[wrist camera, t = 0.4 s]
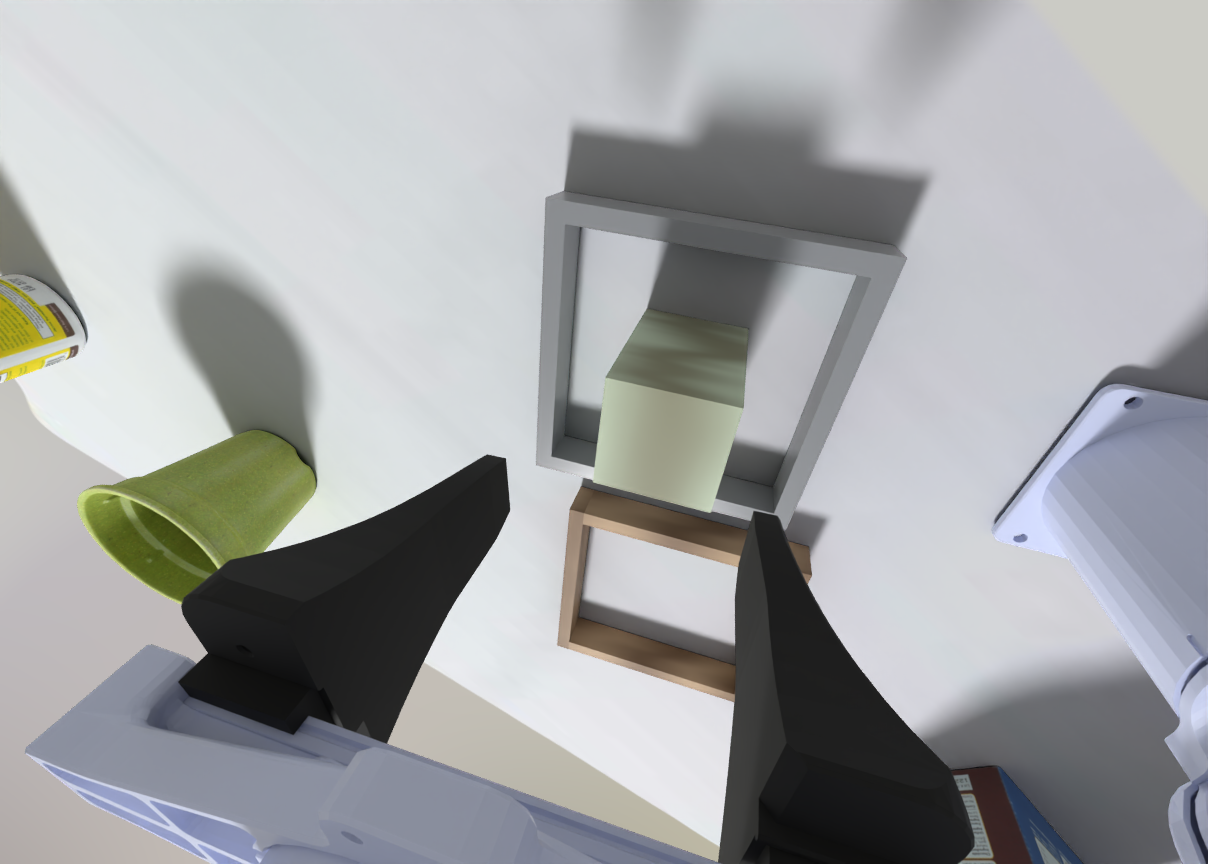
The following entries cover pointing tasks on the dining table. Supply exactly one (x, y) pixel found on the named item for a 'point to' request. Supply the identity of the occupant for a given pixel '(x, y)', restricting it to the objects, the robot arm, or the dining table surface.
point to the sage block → (672, 409)
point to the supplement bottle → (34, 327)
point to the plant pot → (199, 511)
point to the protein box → (1007, 822)
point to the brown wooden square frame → (662, 531)
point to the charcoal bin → (758, 240)
